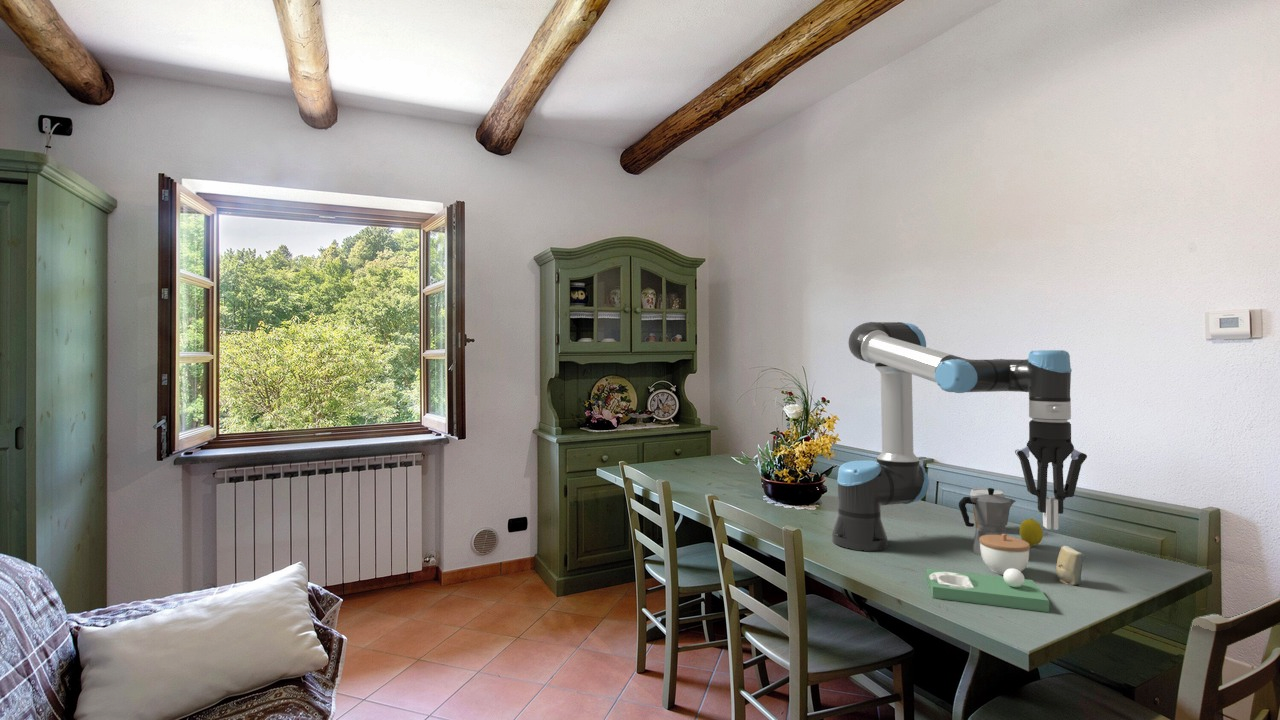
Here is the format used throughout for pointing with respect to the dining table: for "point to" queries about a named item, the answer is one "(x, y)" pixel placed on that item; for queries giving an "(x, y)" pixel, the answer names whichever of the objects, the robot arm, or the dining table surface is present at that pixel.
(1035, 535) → the lemon
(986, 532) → the coffeepot
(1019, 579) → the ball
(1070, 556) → the beige rounded block
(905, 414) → the robot arm
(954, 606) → the dining table surface
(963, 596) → the green flat slab
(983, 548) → the lidded jar
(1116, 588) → the dining table surface
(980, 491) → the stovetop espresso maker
